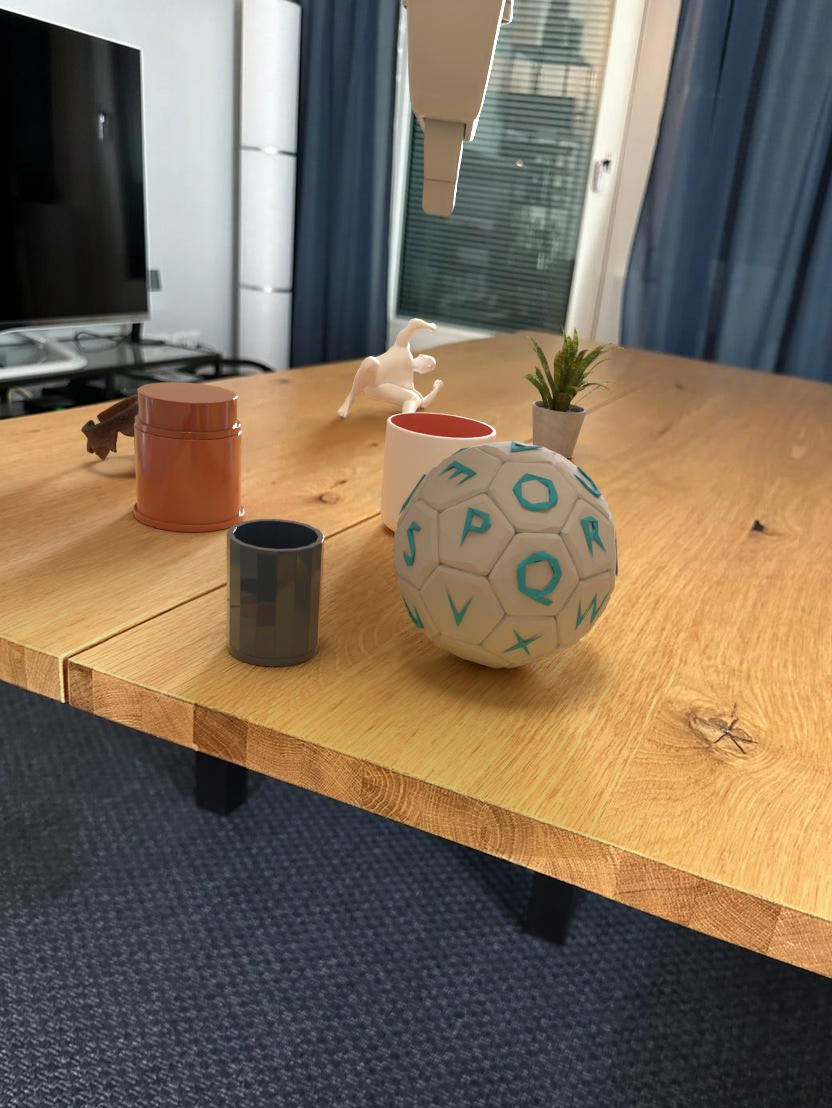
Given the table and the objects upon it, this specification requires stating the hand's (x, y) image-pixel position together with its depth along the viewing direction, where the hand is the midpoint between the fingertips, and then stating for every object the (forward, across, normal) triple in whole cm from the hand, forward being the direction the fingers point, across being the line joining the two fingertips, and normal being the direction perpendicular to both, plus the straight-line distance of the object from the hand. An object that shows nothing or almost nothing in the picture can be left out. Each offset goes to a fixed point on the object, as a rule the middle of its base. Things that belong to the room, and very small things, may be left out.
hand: (438, 214), depth 57 cm
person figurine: (+28, -72, -5) cm, 78 cm away
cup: (+28, -21, +2) cm, 35 cm away
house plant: (+28, -56, +18) cm, 65 cm away
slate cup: (+28, +7, -8) cm, 30 cm away
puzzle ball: (+28, +5, +7) cm, 29 cm away
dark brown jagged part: (+28, -32, -28) cm, 51 cm away
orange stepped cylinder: (+28, -18, -20) cm, 39 cm away
